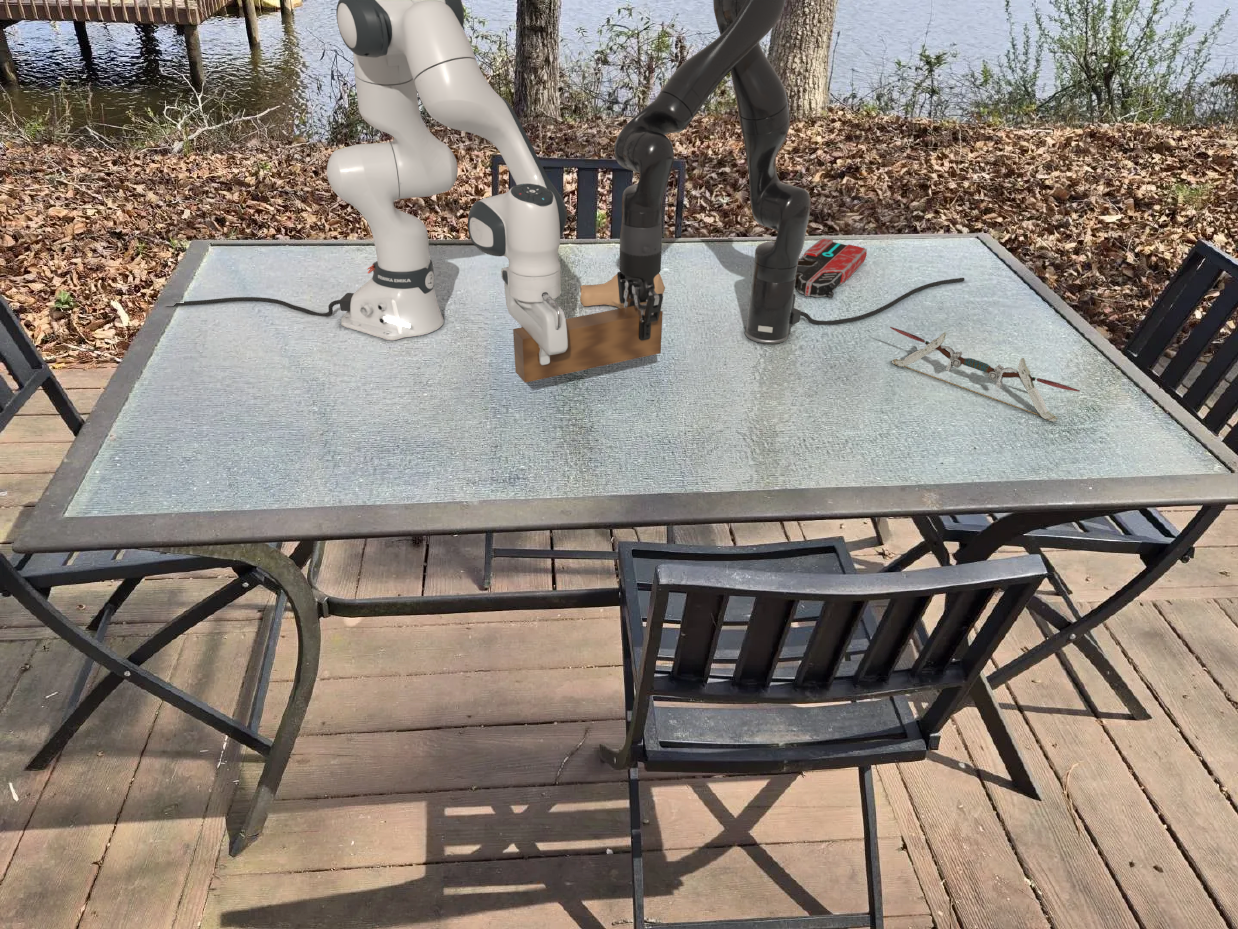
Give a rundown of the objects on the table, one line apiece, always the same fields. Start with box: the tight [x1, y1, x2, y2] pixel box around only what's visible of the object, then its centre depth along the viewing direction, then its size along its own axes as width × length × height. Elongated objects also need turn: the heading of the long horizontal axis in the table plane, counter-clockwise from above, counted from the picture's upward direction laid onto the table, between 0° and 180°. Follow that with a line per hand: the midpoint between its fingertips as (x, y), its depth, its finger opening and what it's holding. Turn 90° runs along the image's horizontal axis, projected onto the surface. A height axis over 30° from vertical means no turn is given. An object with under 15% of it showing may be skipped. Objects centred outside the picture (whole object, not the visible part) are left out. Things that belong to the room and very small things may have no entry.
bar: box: [512, 303, 664, 384], centre depth 162 cm, size 28×5×9 cm, turn 117°
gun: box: [795, 237, 868, 299], centre depth 225 cm, size 4×31×19 cm
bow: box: [889, 326, 1081, 422], centre depth 173 cm, size 39×2×10 cm, turn 47°
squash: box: [579, 273, 666, 309], centre depth 204 cm, size 11×20×9 cm, turn 90°
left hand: (537, 355), depth 158 cm, fingers closed on bar, 4 cm apart
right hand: (637, 333), depth 166 cm, fingers closed on bar, 4 cm apart
